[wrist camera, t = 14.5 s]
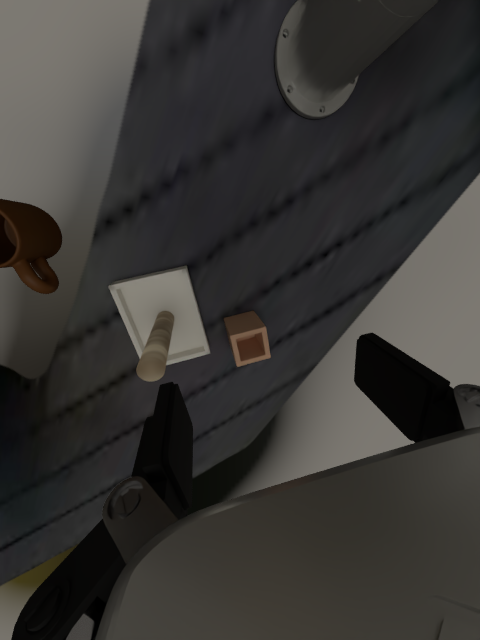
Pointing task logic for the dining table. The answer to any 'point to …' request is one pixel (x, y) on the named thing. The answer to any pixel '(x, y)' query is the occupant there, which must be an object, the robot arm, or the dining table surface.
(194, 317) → the plastic tray
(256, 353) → the terracotta cup
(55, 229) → the mug
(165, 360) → the beech dowel
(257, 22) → the dining table surface
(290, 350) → the dining table surface
